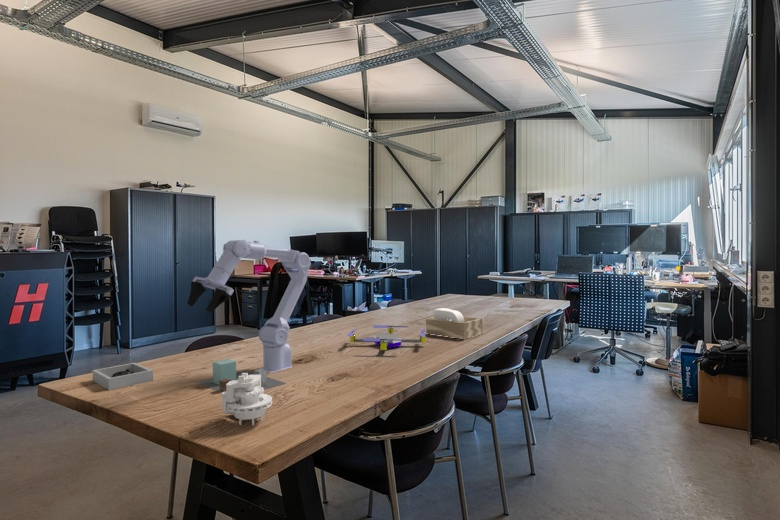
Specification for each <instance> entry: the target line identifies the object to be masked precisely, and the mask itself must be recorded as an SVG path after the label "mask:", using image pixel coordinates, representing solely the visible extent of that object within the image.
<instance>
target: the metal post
mask: <svg viewBox="0 0 780 520" xmlns="http://www.w3.org/2000/svg"><path fill="white" fill-rule="evenodd" d="M254 373H255V375H261V387H265V386H267V377H268V376H267V370H265V369H259V368H258V369H254Z"/></svg>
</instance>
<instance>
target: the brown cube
mask: <svg viewBox="0 0 780 520" xmlns="http://www.w3.org/2000/svg"><path fill="white" fill-rule="evenodd" d="M230 381H232V380H230V379H223V380H219V384H220V391H223V392H225V391H226V384H227V383H228V382H230Z"/></svg>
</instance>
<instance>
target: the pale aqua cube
mask: <svg viewBox="0 0 780 520" xmlns="http://www.w3.org/2000/svg"><path fill="white" fill-rule="evenodd" d="M236 373H237V362H236V360H233V359H229V358H226V359H221V360H217V361H213V362H212V378H213V383H216V384H219V380H223V379H230V380H232V381H234V380H236ZM219 385H220V384H219Z"/></svg>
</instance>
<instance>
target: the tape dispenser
mask: <svg viewBox="0 0 780 520" xmlns="http://www.w3.org/2000/svg"><path fill="white" fill-rule="evenodd" d="M433 317H434V319H436V320H444V321H453V322H461V323H464V317H465V316H464V315H463V314H462V313H461V311H459V310H455V309H452V308H446V307H441V308H434V309H433Z"/></svg>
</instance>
